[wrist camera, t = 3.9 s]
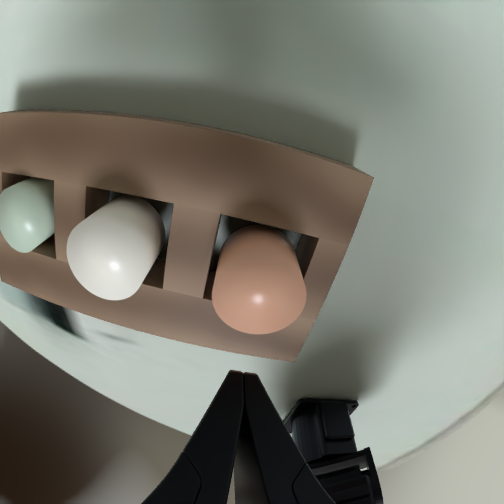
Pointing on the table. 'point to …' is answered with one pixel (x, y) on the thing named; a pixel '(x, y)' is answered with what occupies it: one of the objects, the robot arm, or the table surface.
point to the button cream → (116, 247)
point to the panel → (178, 215)
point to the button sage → (27, 213)
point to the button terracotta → (258, 281)
